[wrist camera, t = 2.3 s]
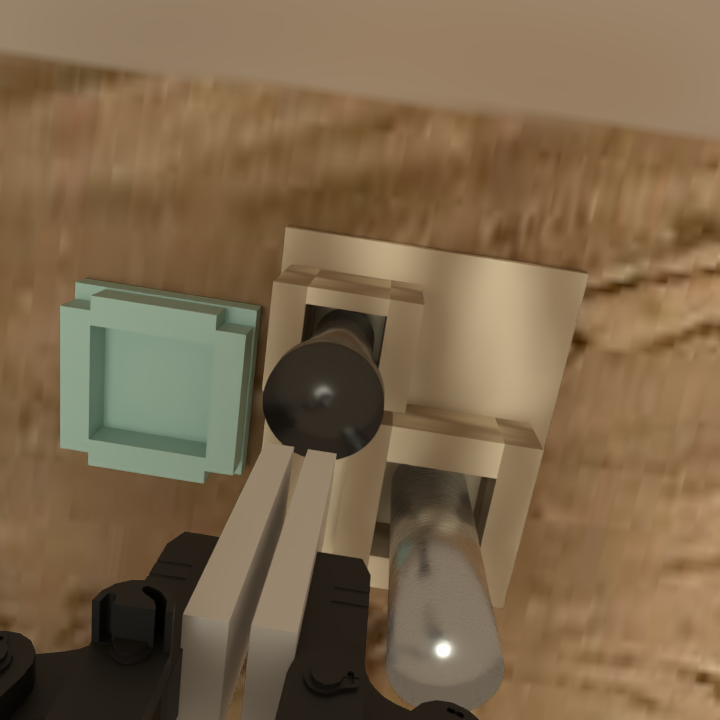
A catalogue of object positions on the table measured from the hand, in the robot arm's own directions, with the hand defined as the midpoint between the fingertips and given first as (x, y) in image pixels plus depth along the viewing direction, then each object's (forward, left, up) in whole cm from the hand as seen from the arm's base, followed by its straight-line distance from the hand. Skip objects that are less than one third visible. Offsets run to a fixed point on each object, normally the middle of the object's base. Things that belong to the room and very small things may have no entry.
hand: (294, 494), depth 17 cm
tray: (-10, -5, -19) cm, 22 cm away
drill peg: (+6, -9, -19) cm, 22 cm away
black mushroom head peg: (0, 0, -16) cm, 16 cm away
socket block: (+4, -6, -19) cm, 21 cm away
